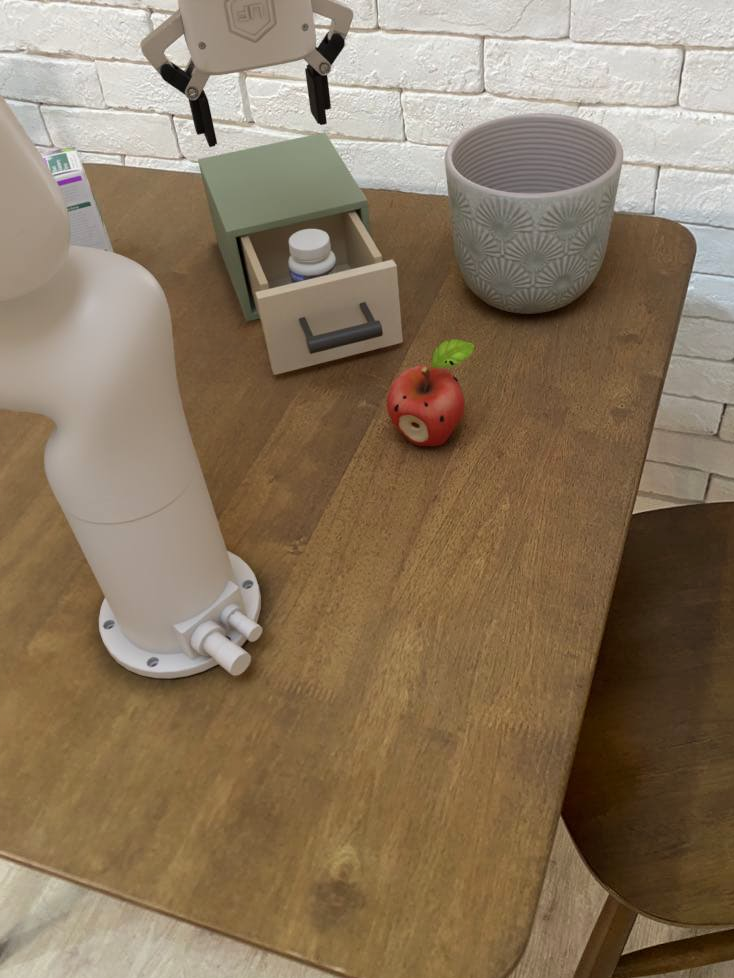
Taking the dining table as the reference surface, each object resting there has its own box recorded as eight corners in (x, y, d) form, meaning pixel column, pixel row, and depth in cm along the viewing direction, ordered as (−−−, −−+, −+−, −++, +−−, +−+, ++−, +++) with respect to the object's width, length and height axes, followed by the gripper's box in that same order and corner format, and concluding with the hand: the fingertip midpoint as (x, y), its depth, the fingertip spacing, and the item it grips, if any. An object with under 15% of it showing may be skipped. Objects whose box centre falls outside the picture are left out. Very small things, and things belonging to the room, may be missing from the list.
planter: (606, 340, 94) (623, 198, 83) (439, 333, 97) (433, 194, 85) (609, 248, 105) (624, 112, 94) (459, 244, 108) (455, 111, 96)
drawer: (418, 371, 91) (413, 293, 85) (285, 405, 89) (269, 328, 82) (359, 264, 104) (351, 190, 98) (242, 292, 102) (225, 218, 96)
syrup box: (127, 290, 106) (85, 166, 95) (74, 304, 104) (27, 181, 94) (118, 265, 109) (77, 143, 98) (67, 278, 108) (21, 157, 97)
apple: (418, 473, 83) (411, 384, 76) (377, 432, 87) (366, 344, 80) (487, 437, 86) (487, 348, 78) (444, 399, 90) (441, 311, 82)
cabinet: (376, 290, 102) (367, 199, 95) (246, 321, 100) (226, 231, 92) (336, 218, 113) (325, 131, 105) (218, 245, 111) (197, 158, 103)
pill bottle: (291, 323, 96) (277, 250, 90) (304, 297, 99) (292, 224, 93) (335, 327, 95) (325, 253, 89) (347, 300, 98) (338, 227, 92)
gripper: (112, -72, 65) (172, 167, 77) (352, -110, 68) (372, 127, 80) (102, -98, 70) (160, 131, 82) (326, -132, 73) (349, 95, 85)
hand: (265, 129), depth 81 cm, fingers open, 9 cm apart
